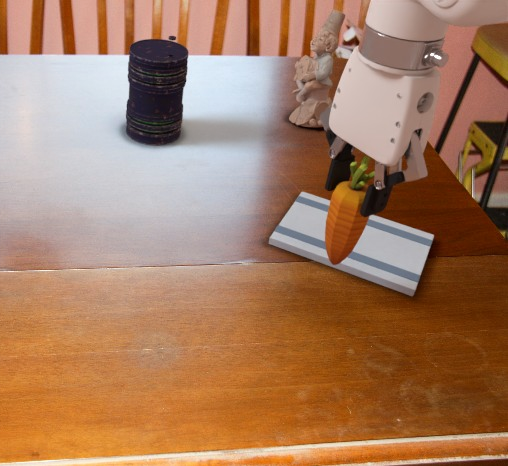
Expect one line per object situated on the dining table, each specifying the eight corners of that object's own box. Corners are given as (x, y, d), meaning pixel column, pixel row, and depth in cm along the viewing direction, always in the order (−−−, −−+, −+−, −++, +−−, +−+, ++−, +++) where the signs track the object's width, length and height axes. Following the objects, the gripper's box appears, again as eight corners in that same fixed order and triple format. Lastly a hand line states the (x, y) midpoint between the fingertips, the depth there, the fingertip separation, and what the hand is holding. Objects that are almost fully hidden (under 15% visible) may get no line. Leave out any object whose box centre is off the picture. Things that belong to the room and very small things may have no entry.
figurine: (321, 109, 127) (345, 5, 115) (341, 130, 120) (369, 22, 108) (278, 112, 125) (299, 6, 112) (297, 133, 118) (321, 24, 106)
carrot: (330, 246, 83) (360, 143, 74) (362, 267, 80) (397, 162, 71) (305, 261, 81) (333, 155, 71) (337, 283, 78) (370, 176, 69)
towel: (431, 241, 94) (434, 234, 94) (412, 297, 84) (415, 289, 84) (300, 197, 101) (302, 190, 101) (268, 244, 91) (269, 236, 91)
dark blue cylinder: (113, 128, 115) (116, 27, 104) (155, 113, 121) (162, 16, 110) (150, 151, 109) (158, 47, 99) (192, 135, 115) (204, 35, 104)
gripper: (498, 73, 60) (434, 231, 71) (363, 13, 71) (326, 158, 82) (444, 87, 56) (385, 251, 67) (311, 22, 68) (280, 171, 79)
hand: (353, 198), depth 75 cm, fingers closed on carrot, 4 cm apart
